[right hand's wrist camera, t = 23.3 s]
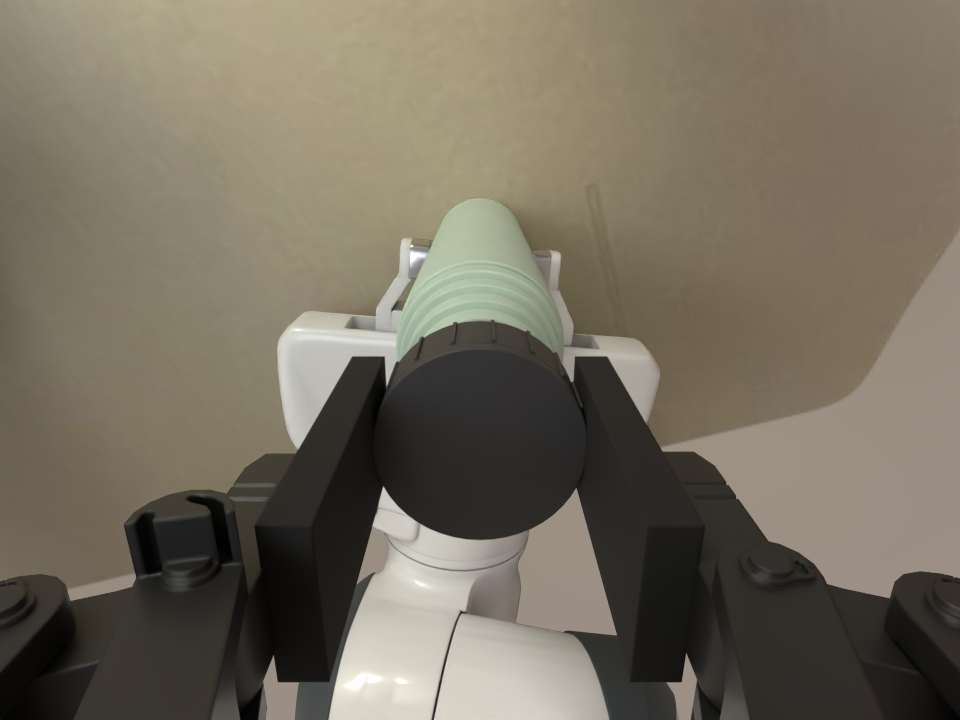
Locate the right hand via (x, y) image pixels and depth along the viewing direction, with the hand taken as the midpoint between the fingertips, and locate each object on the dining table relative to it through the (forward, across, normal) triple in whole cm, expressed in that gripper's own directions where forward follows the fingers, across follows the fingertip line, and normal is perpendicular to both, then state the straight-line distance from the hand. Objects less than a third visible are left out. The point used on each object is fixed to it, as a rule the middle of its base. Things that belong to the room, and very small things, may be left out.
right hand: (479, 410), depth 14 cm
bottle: (+25, 0, 0) cm, 25 cm away
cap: (-2, 0, 0) cm, 2 cm away
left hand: (+18, 0, -1) cm, 18 cm away
